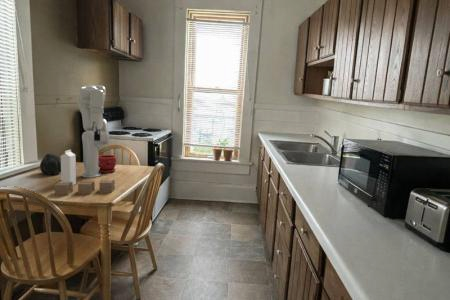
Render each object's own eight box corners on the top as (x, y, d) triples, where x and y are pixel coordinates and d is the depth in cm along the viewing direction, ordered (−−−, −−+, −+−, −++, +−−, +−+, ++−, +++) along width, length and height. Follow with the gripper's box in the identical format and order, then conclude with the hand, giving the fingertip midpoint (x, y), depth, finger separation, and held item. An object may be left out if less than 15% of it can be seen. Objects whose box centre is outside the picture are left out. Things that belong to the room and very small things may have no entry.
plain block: (82, 190, 181) (82, 180, 180) (94, 190, 182) (94, 180, 181) (78, 193, 174) (78, 183, 173) (90, 194, 175) (90, 184, 174)
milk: (61, 185, 187) (60, 150, 184) (67, 183, 193) (66, 149, 190) (70, 186, 187) (69, 151, 183) (76, 183, 193) (75, 149, 189)
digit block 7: (102, 188, 186) (102, 179, 185) (114, 189, 187) (114, 179, 186) (99, 192, 179) (99, 182, 178) (111, 192, 180) (111, 182, 179)
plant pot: (119, 170, 233) (119, 155, 231) (109, 174, 220) (109, 158, 218) (104, 168, 236) (104, 153, 234) (93, 172, 223) (93, 156, 221)
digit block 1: (60, 191, 177) (59, 181, 176) (72, 191, 178) (72, 181, 177) (55, 195, 170) (54, 184, 169) (68, 195, 171) (67, 184, 170)
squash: (72, 165, 219) (58, 148, 218) (58, 170, 204) (43, 153, 203) (58, 176, 222) (45, 160, 220) (44, 182, 207) (30, 165, 206)
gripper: (94, 109, 189) (94, 138, 192) (86, 110, 175) (86, 141, 178) (106, 110, 190) (107, 139, 193) (99, 111, 176) (99, 142, 178)
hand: (97, 140), depth 185 cm, fingers closed
